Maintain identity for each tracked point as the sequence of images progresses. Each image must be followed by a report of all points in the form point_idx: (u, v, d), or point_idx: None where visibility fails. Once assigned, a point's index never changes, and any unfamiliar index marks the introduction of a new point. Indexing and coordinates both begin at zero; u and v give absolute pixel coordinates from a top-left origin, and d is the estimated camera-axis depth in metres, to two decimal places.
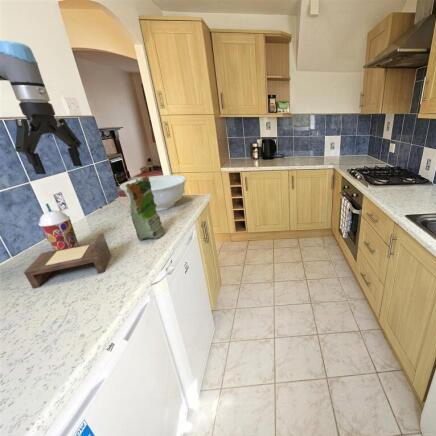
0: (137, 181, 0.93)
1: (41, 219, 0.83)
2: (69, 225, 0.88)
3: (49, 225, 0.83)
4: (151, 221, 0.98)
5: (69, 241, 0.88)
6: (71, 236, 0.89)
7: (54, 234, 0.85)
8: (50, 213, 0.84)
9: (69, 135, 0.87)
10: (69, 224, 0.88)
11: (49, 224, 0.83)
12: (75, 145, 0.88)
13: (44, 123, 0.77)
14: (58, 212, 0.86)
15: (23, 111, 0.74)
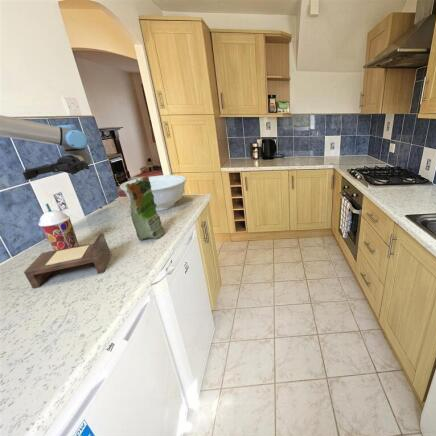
0: (137, 181, 0.93)
1: (41, 219, 0.83)
2: (69, 225, 0.88)
3: (49, 225, 0.83)
4: (151, 221, 0.98)
5: (69, 241, 0.88)
6: (71, 236, 0.89)
7: (54, 234, 0.85)
8: (50, 213, 0.84)
9: None
10: (69, 224, 0.88)
11: (49, 224, 0.83)
12: None
13: None
14: (58, 212, 0.86)
15: (77, 160, 1.07)
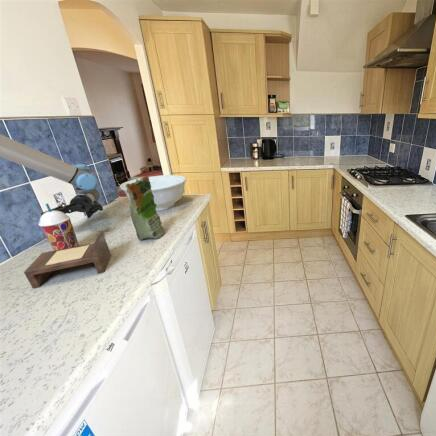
0: (137, 181, 0.93)
1: (41, 219, 0.83)
2: (69, 225, 0.88)
3: (49, 225, 0.83)
4: (151, 221, 0.98)
5: (69, 241, 0.88)
6: (71, 236, 0.89)
7: (54, 234, 0.85)
8: (50, 213, 0.84)
9: None
10: (69, 224, 0.88)
11: (49, 224, 0.83)
12: None
13: None
14: (58, 212, 0.86)
15: (89, 200, 1.11)
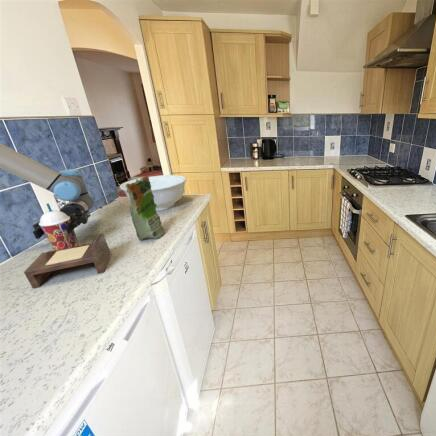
0: (137, 181, 0.93)
1: (41, 219, 0.83)
2: None
3: (49, 225, 0.83)
4: (151, 221, 0.98)
5: (69, 241, 0.88)
6: (71, 236, 0.89)
7: (54, 234, 0.85)
8: (51, 213, 0.84)
9: None
10: None
11: (49, 223, 0.83)
12: None
13: None
14: (59, 212, 0.86)
15: (81, 209, 1.01)
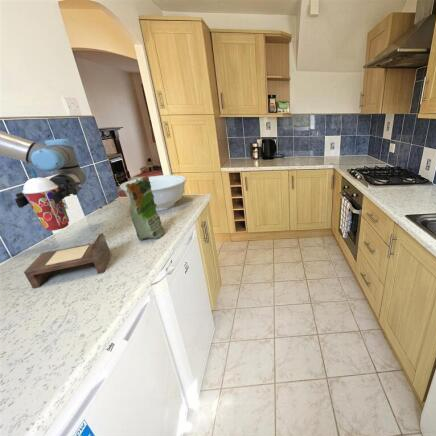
0: (137, 181, 0.93)
1: (25, 186, 0.74)
2: None
3: (34, 192, 0.74)
4: (151, 221, 0.98)
5: (57, 213, 0.79)
6: (59, 207, 0.80)
7: (40, 203, 0.75)
8: (35, 179, 0.75)
9: None
10: None
11: (34, 191, 0.74)
12: None
13: None
14: (45, 179, 0.77)
15: (72, 181, 0.92)
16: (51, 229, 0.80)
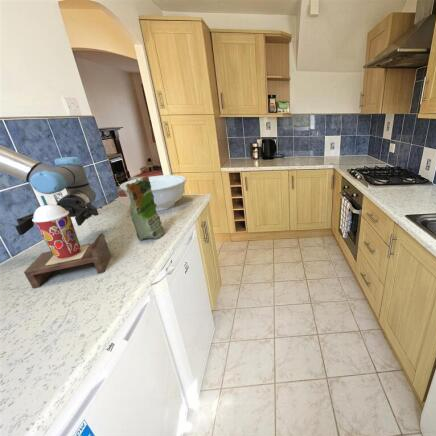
0: (137, 181, 0.93)
1: (35, 214, 0.70)
2: (68, 221, 0.75)
3: (45, 221, 0.70)
4: (151, 221, 0.98)
5: (68, 240, 0.76)
6: (71, 234, 0.76)
7: (51, 232, 0.72)
8: (46, 207, 0.71)
9: None
10: (68, 220, 0.75)
11: (44, 219, 0.70)
12: None
13: None
14: (55, 206, 0.73)
15: (82, 202, 0.88)
16: (62, 257, 0.76)
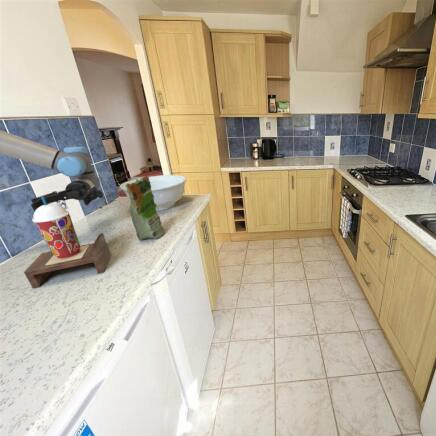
0: (137, 181, 0.93)
1: (35, 214, 0.70)
2: (68, 221, 0.75)
3: (45, 221, 0.70)
4: (151, 221, 0.98)
5: (68, 240, 0.76)
6: (71, 234, 0.76)
7: (51, 232, 0.72)
8: (46, 207, 0.71)
9: None
10: (68, 220, 0.75)
11: (44, 219, 0.70)
12: None
13: None
14: (55, 206, 0.73)
15: (88, 186, 0.98)
16: (62, 257, 0.76)
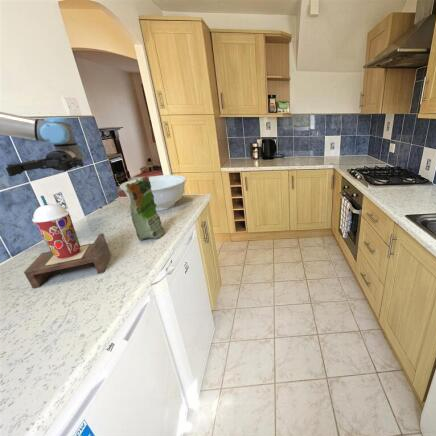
0: (137, 181, 0.93)
1: (35, 214, 0.70)
2: (68, 221, 0.75)
3: (45, 221, 0.70)
4: (151, 221, 0.98)
5: (68, 240, 0.76)
6: (71, 234, 0.76)
7: (51, 232, 0.72)
8: (46, 207, 0.71)
9: None
10: (68, 220, 0.75)
11: (44, 219, 0.70)
12: None
13: None
14: (55, 206, 0.73)
15: (69, 157, 0.95)
16: (62, 257, 0.76)
